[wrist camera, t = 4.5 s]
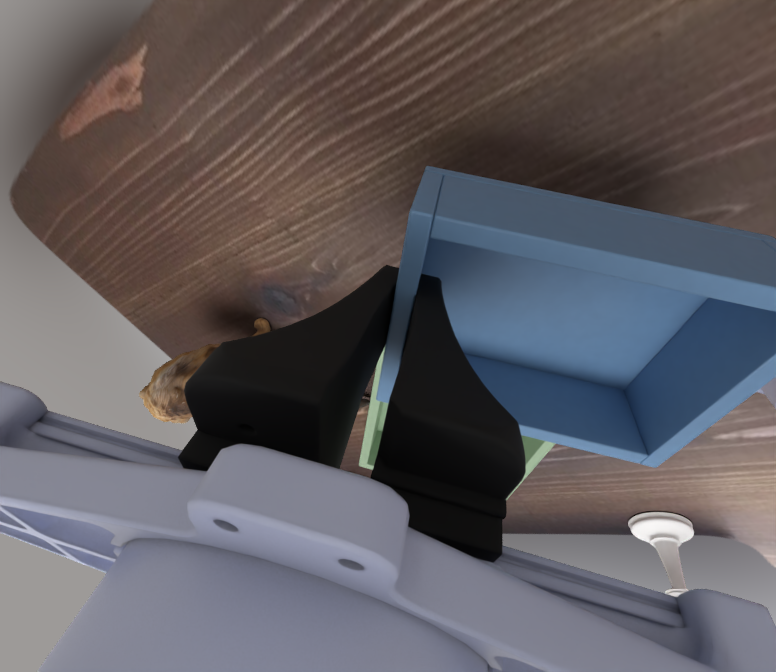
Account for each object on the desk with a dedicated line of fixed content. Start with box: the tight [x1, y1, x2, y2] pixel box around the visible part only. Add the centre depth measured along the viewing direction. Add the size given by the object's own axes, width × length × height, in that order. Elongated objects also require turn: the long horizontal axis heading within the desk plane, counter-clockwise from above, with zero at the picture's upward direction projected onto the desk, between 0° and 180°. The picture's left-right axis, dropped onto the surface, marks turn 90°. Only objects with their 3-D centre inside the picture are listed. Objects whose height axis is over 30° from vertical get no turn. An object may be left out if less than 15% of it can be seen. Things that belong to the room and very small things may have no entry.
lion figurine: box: [139, 318, 370, 423], centre depth 27 cm, size 15×5×9 cm, turn 64°
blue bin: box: [376, 166, 776, 468], centre depth 12 cm, size 10×8×4 cm
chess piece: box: [628, 512, 694, 597], centre depth 30 cm, size 5×5×10 cm
